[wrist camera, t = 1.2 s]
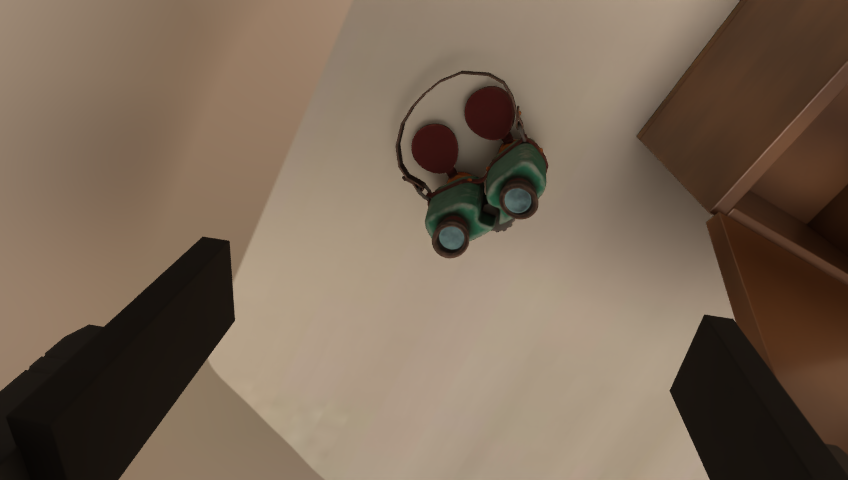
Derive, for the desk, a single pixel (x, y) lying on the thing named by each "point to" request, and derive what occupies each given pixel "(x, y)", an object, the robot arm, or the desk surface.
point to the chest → (768, 127)
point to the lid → (790, 322)
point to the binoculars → (464, 194)
